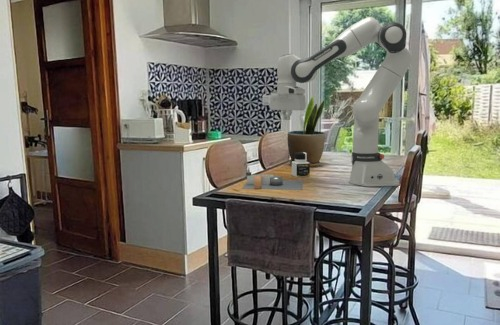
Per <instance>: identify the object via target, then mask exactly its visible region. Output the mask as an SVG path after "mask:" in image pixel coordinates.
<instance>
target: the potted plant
mask: <svg viewBox="0 0 500 325" xmlns="http://www.w3.org/2000/svg"><path fill="white" fill-rule="evenodd" d="M314 96H315V95H312V96H311V98H310V100H309V102H308V104H307V106H306V109H305V114H304V120H303V127H302V128H303V130H292V131H291V130H290V131H289V132H287V148H288V156H289V158H290V161H289V163H290V165H291V166H292V161H295V153H297V152H305V153H306V154H307V160H306V162H309V163H310V168H315V167H319V166H320V164H321V158H322V156H323V154H324V150H325V142H326V132H324V131H318V130H317V131H316V127H317V124H318V121H319V119H320V118H321V116H322V114H323V111H324V108H325V107H324V106H325V100H323V101H322V102H320V105H319V106H318V104H317V103H315V97H314ZM314 103H315V104H314Z"/></svg>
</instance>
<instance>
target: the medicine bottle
mask: <svg viewBox="0 0 500 325" xmlns="http://www.w3.org/2000/svg"><path fill="white" fill-rule="evenodd" d="M306 160H307V154H306V153H305V152H297V153H295V161H292V160H291V161H292V165H291V176H293V177H296V178H307V177H308V178H309V177H311V176H310V175H311V167H310V163H309V162H306Z"/></svg>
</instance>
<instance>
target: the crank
mask: <svg viewBox="0 0 500 325" xmlns="http://www.w3.org/2000/svg"><path fill="white" fill-rule="evenodd" d="M245 176H246V183H247V184H254V177H256V176H260V177H261V184H270V185H282V184H283V180H284V178H283V177H284V176H280V175H274V174H252V172H250V171H246V173H245Z"/></svg>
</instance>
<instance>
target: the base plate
mask: <svg viewBox="0 0 500 325" xmlns="http://www.w3.org/2000/svg"><path fill="white" fill-rule="evenodd" d="M303 187H304V180H302V179H301V180H297V179H296V180H294V179H290V180H289V179H288V180H287V179H285V180H284V179H283V184H282V185H270V184H261V177H260V176H256V177H254V184H247V182H245V184H244V185H243V187H241V189H242V190H276V191H277V190H281V191H282V190H285V191H303Z"/></svg>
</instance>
